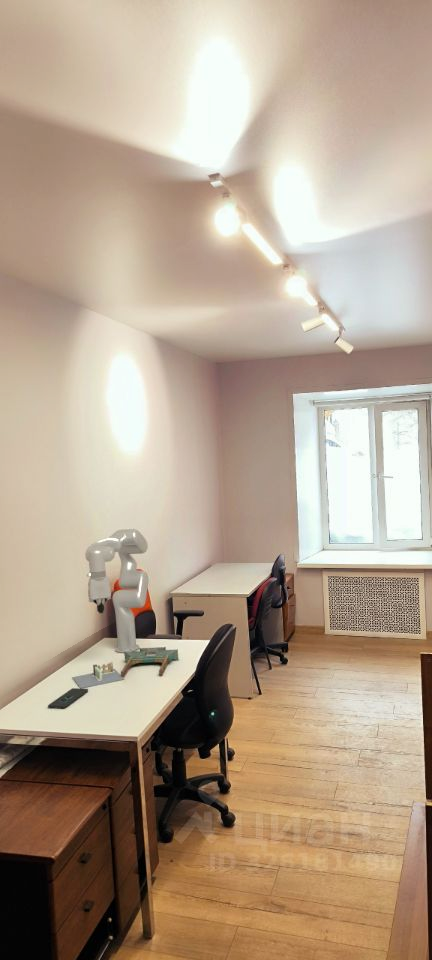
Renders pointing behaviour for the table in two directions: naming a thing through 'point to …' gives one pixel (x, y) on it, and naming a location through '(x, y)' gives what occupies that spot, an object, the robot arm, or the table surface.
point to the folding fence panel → (98, 673)
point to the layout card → (97, 679)
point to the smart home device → (67, 698)
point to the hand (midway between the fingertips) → (101, 612)
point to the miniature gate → (149, 657)
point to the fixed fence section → (110, 668)
